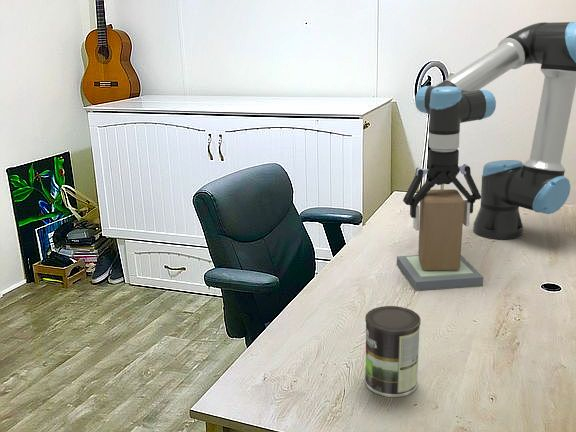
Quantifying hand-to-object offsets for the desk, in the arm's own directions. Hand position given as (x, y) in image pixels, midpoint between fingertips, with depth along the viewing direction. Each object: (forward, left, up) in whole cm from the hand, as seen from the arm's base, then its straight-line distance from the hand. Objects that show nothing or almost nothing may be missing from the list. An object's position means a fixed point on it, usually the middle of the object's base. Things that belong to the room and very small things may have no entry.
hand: (441, 227), depth 168 cm
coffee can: (+26, +49, -14) cm, 58 cm away
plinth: (0, 0, -14) cm, 14 cm away
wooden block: (0, 0, -11) cm, 11 cm away
